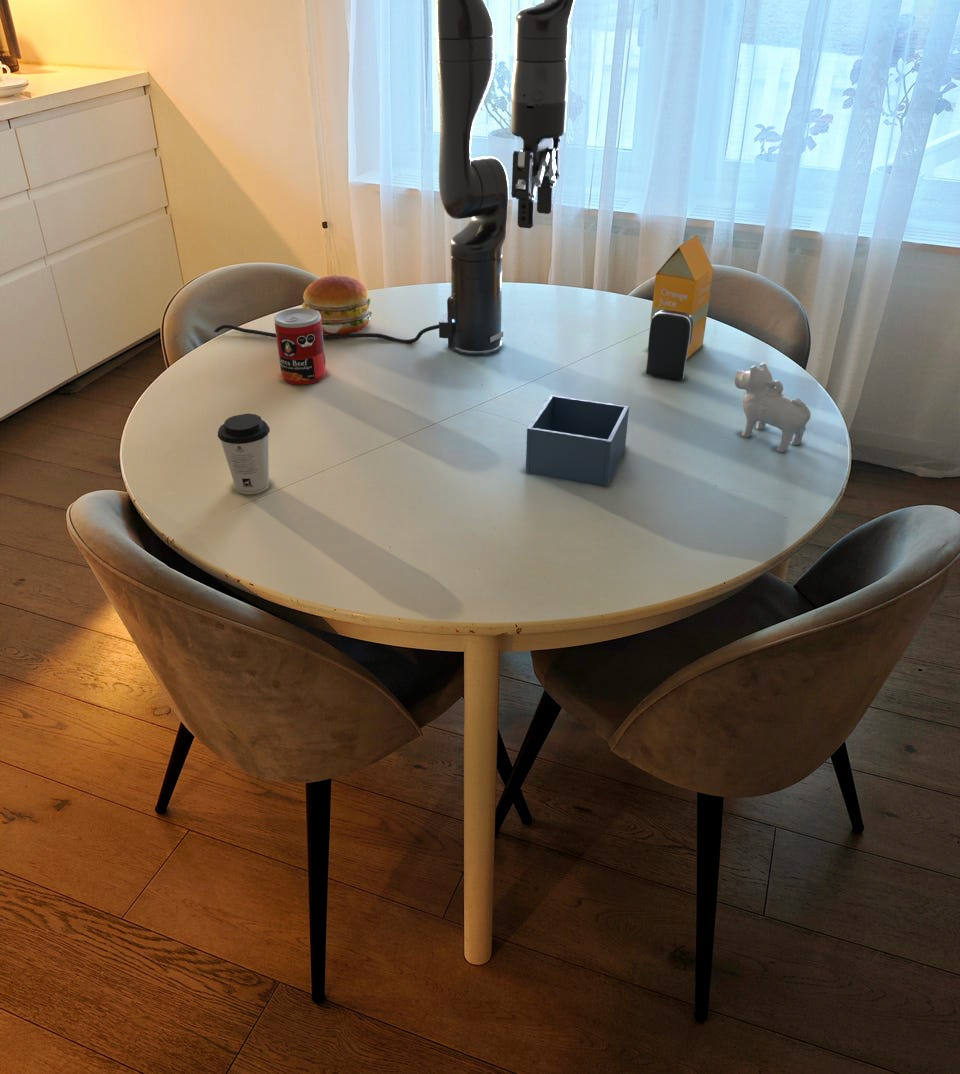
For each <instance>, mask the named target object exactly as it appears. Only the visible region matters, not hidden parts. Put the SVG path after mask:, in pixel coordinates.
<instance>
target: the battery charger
mask: <svg viewBox="0 0 960 1074" xmlns="http://www.w3.org/2000/svg"><path fill="white" fill-rule="evenodd" d="M650 324H651V325H650V326H649V332H648V333H649V334H648V343H647V360H646V369H645V374H646V375H649V376H652V377H657V378H662V379H669V380H677V381H683V380H684V378H685V374H686V365H687V359H688V358H687V354H688V349H689V344H690V343H691V338H692V329H693V319H692V317H691V315H689V314H688V313H684V312H678V311H671V310H660V311H659V312H657V313H656V314H655V315H654V316H653V317H652V320H651V319H650Z"/></svg>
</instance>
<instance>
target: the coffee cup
mask: <svg viewBox="0 0 960 1074" xmlns="http://www.w3.org/2000/svg"><path fill="white" fill-rule="evenodd" d="M270 428H271V427H270V425H268V423H267V422H266V421H265V420H263V419H262V417H261V416H259V415H258V414H255V413H250V412H249V413H241V414H236V415H233V416H230V417H227V418H226V420H225V421H224V422H223V424H221V425H220V426H219V428H218V430H217V438H218V439H219V440H220V443H221V447H222V449H223V453H224V456H225V460H226V462H227V465H228V469H229V473H230V476H231V478H232V482H233V485H234V487H235V490H236V492H237V493H240V494H243V495H249V496H251V495H257V494H260V493H263V492H265V491H266V490H267V489H268V488H269V487H270V474H269V473H270V465H269V464H270V463H269V458H270V457H269V433H270V431H271V429H270Z"/></svg>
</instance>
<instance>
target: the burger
mask: <svg viewBox="0 0 960 1074" xmlns="http://www.w3.org/2000/svg"><path fill="white" fill-rule="evenodd" d="M369 293H370V292H369V290H368V288H367V287H366V285H364V284H363V283H362V282H361V281H359V280H357V279H356V278H354V277H351V276H347V275H339V274H338V275H334V274H333V275H327V276H323V277H321V278H318V279H315V280H314V281H312V282H311V283H310V284H309V285H307V287H306V288H305V290H304V292H303V295H302V296H303V298H302V299H303V302H302V304H301V306H302V308H307V309H313V310H316V311H318V312H319V313H320V316H321V322H322V331H323V335H341V334H355V333H359V332H360V331H363V330H364V329H365V328H367V326H368V324H369V323H370V322H371V317H372V314H373V313H372V311H371V310H370V305H371V298H370V294H369Z"/></svg>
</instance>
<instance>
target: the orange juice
mask: <svg viewBox="0 0 960 1074" xmlns="http://www.w3.org/2000/svg"><path fill="white" fill-rule="evenodd" d="M714 270H715V269H714V268H713V266H712V263H711V261H710V260H709V257H708V255H707V253H706V250H705V249H704V246H703V244H702V242H701V240H700V238H699V236H698V235H695V236H693V237H692V238H690V239H689V240H687V241H685V242H683V243H682V244H681V245H679V246H678V247H677V248H676V250H675V251H674V252H673V253H672V254H671V255H670V257H668V259H667V260H666V262H664V264H663V265H662V266H661V267H660V268H659V269H658V270H657V272H656V273H655V279H654V287H653V297H652V306H651V313H650V321H651V320H652V317H653V316H654V315H655V314H656V313H657V312H659V311H660V310H671V311H678V312H684V313H688V314H689V315H691V317H692V319H693V329H692V338H691V343H690V344H689V349H688V354H687V359H689V358H690V357H691V356H692V355H693V354H694V353H695V352H697V351H698V350H699V349H700V348H701V347H702V346H703V345H704V340H705V339H704V337H705V331H706V326H707V325H706V324H707V317H708V312H709V306H710V305H709V304H710V296H711V288H712V283H713V275H714ZM650 325H651V323H650Z"/></svg>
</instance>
